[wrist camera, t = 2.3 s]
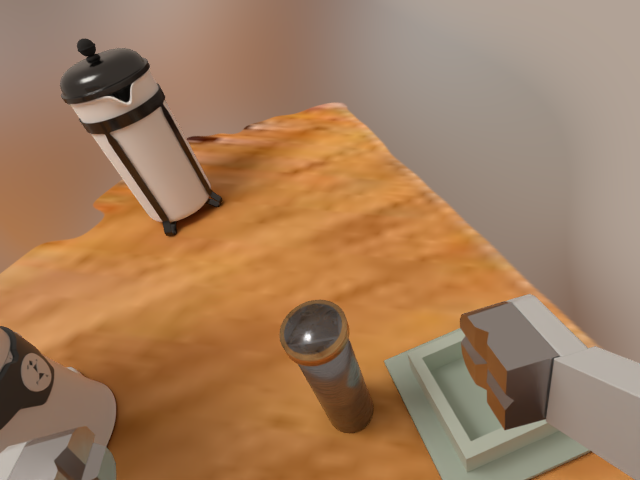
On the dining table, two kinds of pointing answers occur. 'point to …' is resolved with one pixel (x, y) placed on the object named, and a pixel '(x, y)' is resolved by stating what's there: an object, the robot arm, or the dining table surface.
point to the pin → (328, 362)
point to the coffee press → (137, 132)
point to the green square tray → (470, 419)
